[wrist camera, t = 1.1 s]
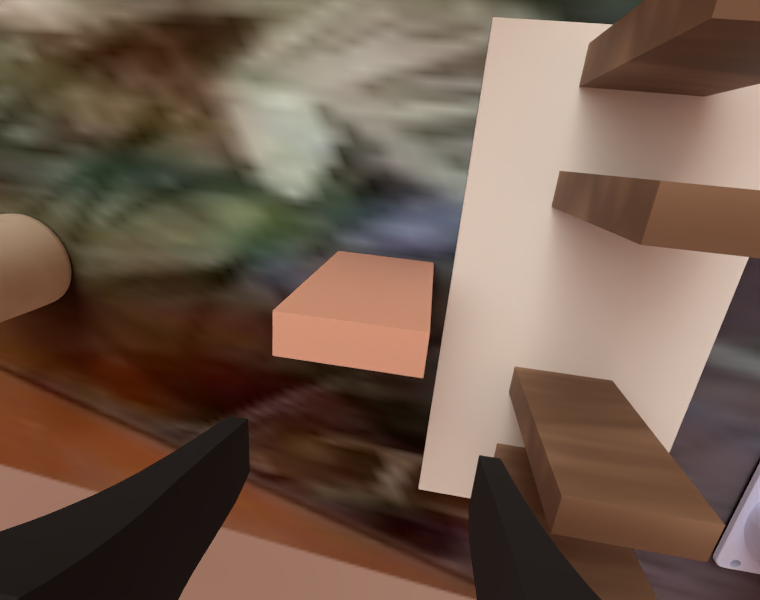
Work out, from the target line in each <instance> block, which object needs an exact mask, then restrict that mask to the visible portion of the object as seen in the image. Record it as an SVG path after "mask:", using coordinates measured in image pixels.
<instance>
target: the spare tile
mask: <svg viewBox="0 0 760 600" xmlns="http://www.w3.org/2000/svg"><path fill="white" fill-rule="evenodd" d="M433 269H434V263H433V262H425V261H416V260H408V259H400V258H392V257H384V256H376V255H368V254H360V253H351V252H343V251H338V252H337V253H336V254H335V255H333V256H332V257H331V258H330V259H329V260H328V261H327V262H326V263H325V264H324V265H322V266H321V267H320V268H319V269H318V270H317V271H316V272H315V273H314V274H313V275H311V276H310V277H309V278H308V279H307V280H306V281H305V282H304V283H303V284H302V285H300V286H299V287H298V288H297V289H296V290H295V291H294V292H293V293H292V294H291V295H289V296H288V297H287V298H286V299H285V300H284V301H283V302H282V303H281V304H280V305H279V306H277V307H276V308H275V309H274V310H273V356H279V357H286V358H292V359H299V360H305V361H312V362H319V363H325V364H332V365H338V366H345V367H352V368H358V369H365V370H371V371H378V372H385V373H391V374H398V375H405V376H411V377H418V378H423V377H424V370H425V363H426V356H427V349H428V342H429V336H430V322H431V305H432V287H433Z"/></svg>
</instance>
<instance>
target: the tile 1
mask: <svg viewBox="0 0 760 600" xmlns="http://www.w3.org/2000/svg"><path fill="white" fill-rule="evenodd" d="M494 457H495V458H500V459H501V460H502V462H503V463H504V465H505V467H506V468H507V470H508V472H509V474H510V476H511V477H512V479H513V481H514V482H515V484H516V486H517V487H518V489H519V491H520V492H521V494H522V496H523V497H524V499H525V500H526V502H527V504H528V505H529V507H530V508H531V510H532V511H533V513H534V514H535V516H536V517H537V519H538V520H539V522H540V523H541V525H542V526H543V528H544V529H545V531H546V532H547V533H548V535H549V536H550V538H551V539H552V540H553V542H554V543H555V544H556V546H557V547H558V548H559V550H560V551H561V552H562V554H563V555H564V556H565V558H566V559H567V560H568V561H569V563H570V564H571V565H572V566H573V568H574V569H575V570H576V571H577V572H578V574H579V575H580V576H581V577H582V578H583V580H584V581H585V582H586V583H587V584H588V585H589V587H590V588H591V589H592V590H593V591H594V592H595V593H596V594H597V595H598V597H599V598H600V599H601V600H657V598H656V596H655V594H654V592H653V590H652V588H651V586H650V584H649V582H648V580H647V578H646V576H645V574H644V572H643V570H642V568H641V566H640V564H639V562H638V560H637V558H636V556H635V554H634V552H633V550H632V548H627V547H622V546H616V545H611V544H605V543H600V542H594V541H589V540H583V539H578V538H573V537H567V536H562V535H556V534H551V533H550V530H549V526H548V523H547V520H546V516H545V513H544V509H543V506H542V503H541V499H540V496H539V493H538V489H537V486H536V482H535V479H534V476H533V472H532V469H531V466H530V462H529V459H528V455H527V452H526V449H525V448H524V447H518V446H512V445H506V444H500V443H497V445H496V450H495V454H494Z"/></svg>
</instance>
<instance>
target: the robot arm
mask: <svg viewBox="0 0 760 600" xmlns="http://www.w3.org/2000/svg"><path fill="white" fill-rule="evenodd" d="M249 472H250V465H249V435H248V419H244V418H237V417H231V416H229V417H228V418H226V419H224V420H223V421H221V422H220V423H218V424H216V425H215V426H213V427H212V428H210V429H209V430H207V431H206V432H204V433H203V434H201V435H200V436H198V437H196V438H195V439H193V440H192V441H190V442H189V443H187V444H185V445H184V446H182V447H181V448H179V449H178V450H176V451H174V452H173V453H171V454H170V455H168V456H166V457H164V458H163V459H161V460H159V461H158V462H156V463H154V464H152V465H151V466H149V467H147V468H145V469H144V470H142V471H140V472H139V473H137V474H135V475H133V476H131V477H129V478H127V479H125V480H124V481H122V482H120V483H118V484H116V485H114V486H112V487H109V488H107V489H105V490H103V491H101V492H99V493H97V494H95V495H93V496H91V497H88V498H86V499H83V500H81V501H79V502H77V503H74V504H72V505H69V506H67V507H65V508H62V509H60V510H57V511H55V512H53V513H50V514H48V515H45V516H42V517H40V518H37V519H35V520H32V521H29V522H26V523H23V524H21V525H18V526H15V527H12V528H9V529H6V530H3V531H0V600H178V599H179V597H180V595H181V593H182V591H183V589H184V587H185V586H186V584H187V582H188V580H189V578H190V577H191V575H192V573H193V571H194V570H195V568H196V567H197V565H198V563H199V562H200V560H201V558H202V557H203V555H204V554H205V552H206V550H207V549H208V547H209V545H210V544H211V542H212V540H213V539H214V537H215V536H216V534H217V532H218V531H219V529H220V527H221V526H222V524H223V522H224V521H225V519H226V517H227V516H228V514H229V513H230V511H231V509H232V507H233V506H234V504H235V502H236V500H237V498H238V496H239V494H240V492H241V490H242V488H243V485H244V483H245V481H246V478H247V476H248V474H249ZM469 542H470V551H471V558H472V566H473V573H474V580H475V587H476V595H477V600H601V599H600V598H599V597H598V595H597V594H596V593H595V592H594V591H593V590H592V589H591V588H590V587H589V585H588V584H587V583H586V582H585V581H584V580H583V578H582V577H581V576H580V575H579V574H578V572H577V571H576V570H575V569H574V568H573V566H572V565H571V564H570V563H569V561H568V560H567V559H566V558H565V556H564V555H563V554H562V552H561V551H560V550H559V548H558V547H557V546H556V544H555V543H554V542H553V540H552V539H551V538H550V536H549V535H548V533H547V532H546V531H545V529H544V528H543V526H542V525H541V523H540V522H539V520H538V519H537V517H536V516H535V514H534V513H533V511H532V510H531V508H530V507H529V505H528V504H527V502H526V500H525V499H524V497H523V496H522V494H521V492H520V491H519V489H518V487H517V486H516V484H515V482H514V481H513V479H512V477H511V476H510V474H509V472H508V470H507V468H506V467H505V465H504V463H503V462H502V460H501V459H500V458H495V457H488V456H482V455H479V458H478V463H477V468H476V473H475V478H474V483H473V488H472V493H471V498H470V503H469ZM713 559H714V561H715V562H716V564H717V565H718V566H720V567H724V568H729V569H735V570H740V571H745V572H751V573H756V574H760V463H759V465H758V467H757V469H756V471H755V473H754V475H753V477H752V479H751V481H750V483H749V485H748V487H747V489H746V491H745V493H744V495H743V497H742V499H741V501H740V503H739V505H738V507H737V509H736V511H735V513H734V514H733V516H732V518H731V520H730V522H729V524H728V526H727V528H726V530H725V532H724V534H723V536H722V538H721V540H720V542H719V544H718V546H717V548H716V550H715V552H714V554H713Z"/></svg>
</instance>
